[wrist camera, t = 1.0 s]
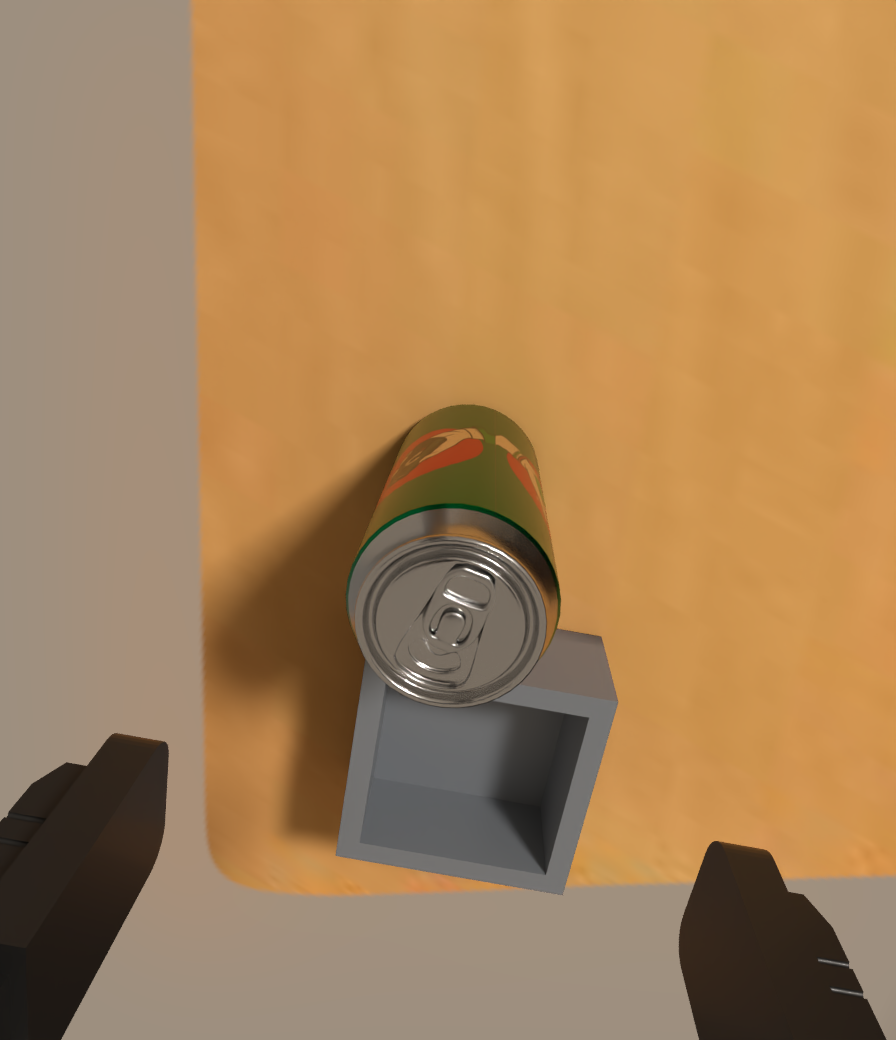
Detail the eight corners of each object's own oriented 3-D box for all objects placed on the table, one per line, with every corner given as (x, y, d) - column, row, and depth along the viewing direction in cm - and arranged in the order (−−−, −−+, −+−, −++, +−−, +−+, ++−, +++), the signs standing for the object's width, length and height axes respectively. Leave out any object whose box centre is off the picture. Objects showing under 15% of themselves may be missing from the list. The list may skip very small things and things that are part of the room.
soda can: (377, 503, 30) (306, 676, 18) (428, 378, 28) (384, 484, 17) (503, 554, 30) (507, 753, 19) (560, 433, 28) (604, 574, 17)
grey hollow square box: (383, 598, 31) (365, 657, 27) (601, 636, 31) (618, 702, 27) (355, 777, 34) (335, 855, 30) (554, 811, 34) (562, 895, 30)
